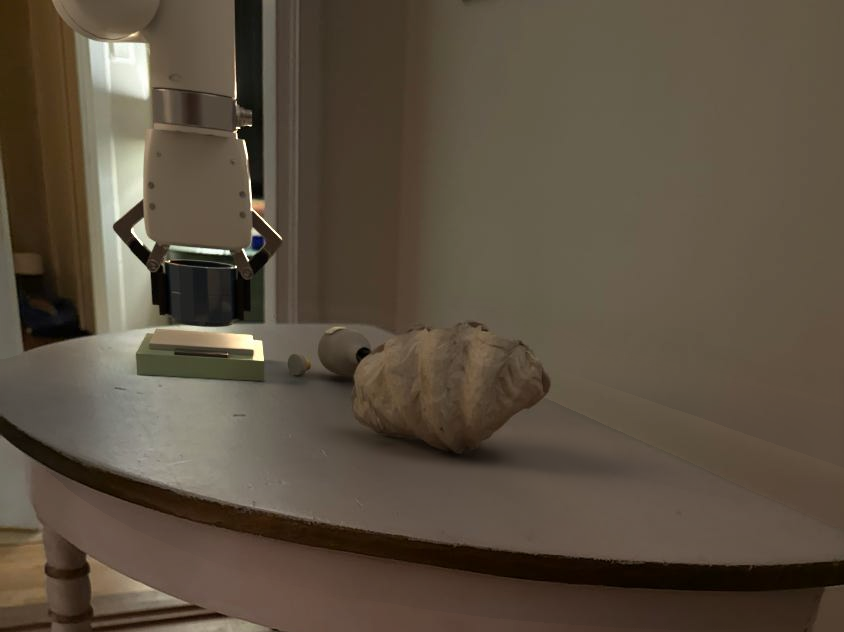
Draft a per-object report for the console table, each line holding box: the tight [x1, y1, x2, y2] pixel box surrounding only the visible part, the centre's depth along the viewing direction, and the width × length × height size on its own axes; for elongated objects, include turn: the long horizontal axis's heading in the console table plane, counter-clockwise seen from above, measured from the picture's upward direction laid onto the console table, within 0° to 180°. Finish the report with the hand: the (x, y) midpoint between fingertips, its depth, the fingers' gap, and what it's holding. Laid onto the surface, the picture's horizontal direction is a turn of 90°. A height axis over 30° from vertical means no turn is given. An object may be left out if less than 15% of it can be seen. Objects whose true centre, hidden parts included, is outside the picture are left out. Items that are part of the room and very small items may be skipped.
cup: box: [164, 259, 238, 328], centre depth 92 cm, size 7×7×6 cm
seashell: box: [350, 319, 552, 454], centre depth 73 cm, size 10×15×10 cm
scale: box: [135, 328, 265, 382], centre depth 94 cm, size 12×12×3 cm
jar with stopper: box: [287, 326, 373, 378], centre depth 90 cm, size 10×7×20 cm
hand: (202, 314), depth 93 cm, fingers closed on cup, 6 cm apart
